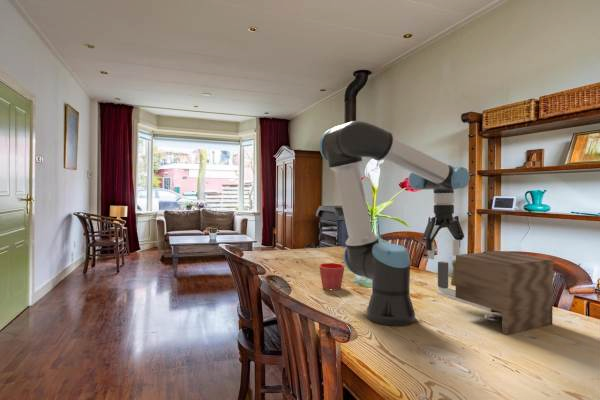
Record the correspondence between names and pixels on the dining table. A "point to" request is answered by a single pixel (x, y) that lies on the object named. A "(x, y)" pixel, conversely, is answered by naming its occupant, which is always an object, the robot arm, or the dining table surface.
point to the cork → (453, 280)
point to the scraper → (444, 286)
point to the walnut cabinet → (508, 287)
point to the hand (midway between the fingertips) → (443, 257)
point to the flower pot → (331, 275)
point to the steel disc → (493, 317)
